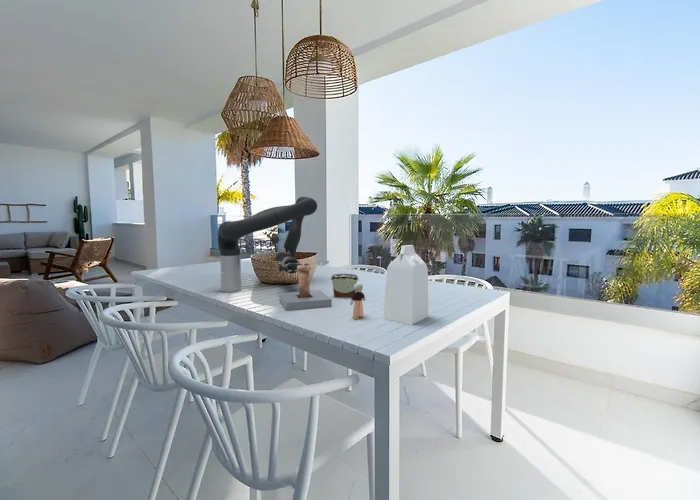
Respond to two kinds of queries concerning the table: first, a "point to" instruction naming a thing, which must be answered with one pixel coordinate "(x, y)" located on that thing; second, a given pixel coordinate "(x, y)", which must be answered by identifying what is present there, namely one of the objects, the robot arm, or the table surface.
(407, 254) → the milk
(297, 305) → the socket block
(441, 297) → the table surface
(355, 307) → the grandmother figurine
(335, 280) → the food container
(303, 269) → the headed peg
